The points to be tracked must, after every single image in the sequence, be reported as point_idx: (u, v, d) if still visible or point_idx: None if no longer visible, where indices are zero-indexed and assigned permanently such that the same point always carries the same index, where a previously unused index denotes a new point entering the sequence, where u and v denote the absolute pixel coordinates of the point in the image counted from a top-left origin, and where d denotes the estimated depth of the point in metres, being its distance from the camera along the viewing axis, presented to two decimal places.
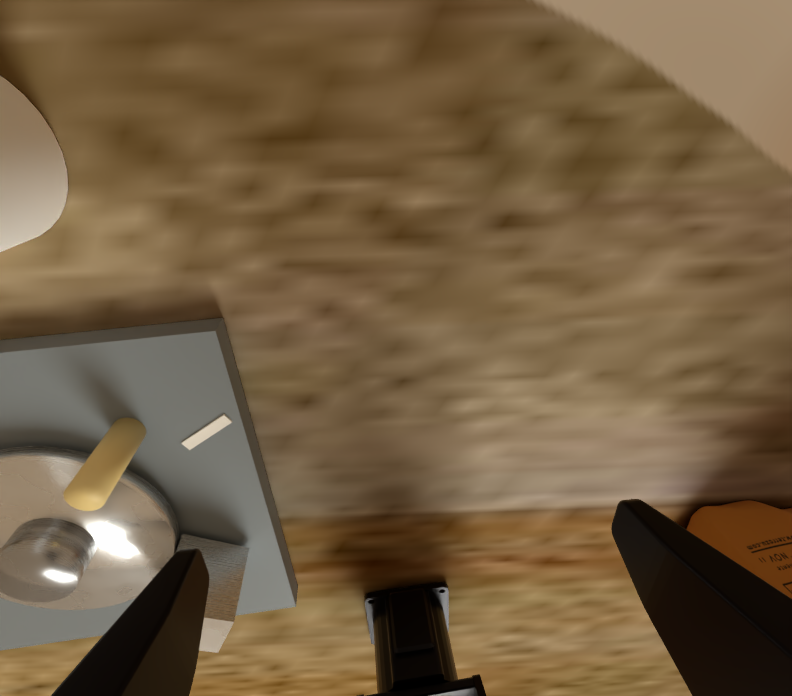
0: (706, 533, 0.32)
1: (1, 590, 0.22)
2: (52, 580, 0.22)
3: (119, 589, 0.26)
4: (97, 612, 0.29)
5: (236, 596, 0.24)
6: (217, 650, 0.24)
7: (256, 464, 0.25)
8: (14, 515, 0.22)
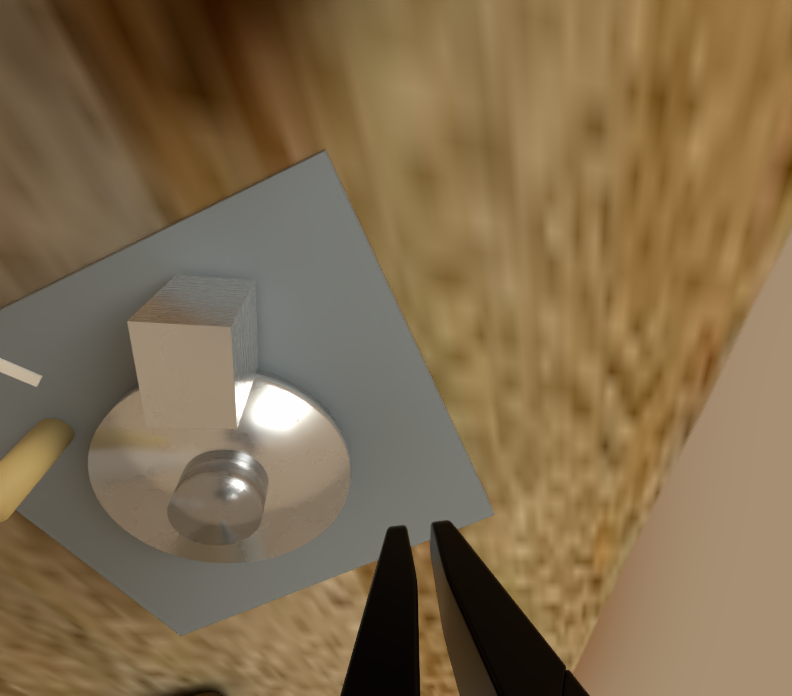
0: None
1: (249, 533, 0.20)
2: (212, 500, 0.19)
3: (291, 420, 0.20)
4: (395, 421, 0.22)
5: None
6: (223, 328, 0.14)
7: (26, 296, 0.17)
8: None
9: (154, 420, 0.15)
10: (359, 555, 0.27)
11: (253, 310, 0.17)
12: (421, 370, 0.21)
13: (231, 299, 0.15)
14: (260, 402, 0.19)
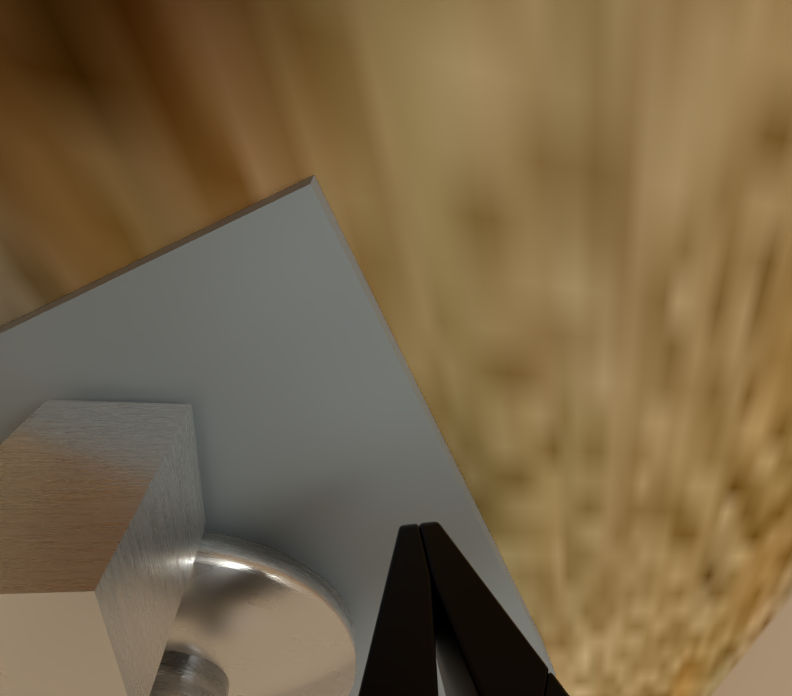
0: None
1: None
2: None
3: (260, 608, 0.12)
4: None
5: None
6: (79, 595, 0.06)
7: None
8: None
9: None
10: None
11: (187, 459, 0.10)
12: (467, 514, 0.13)
13: (128, 474, 0.08)
14: (208, 589, 0.12)
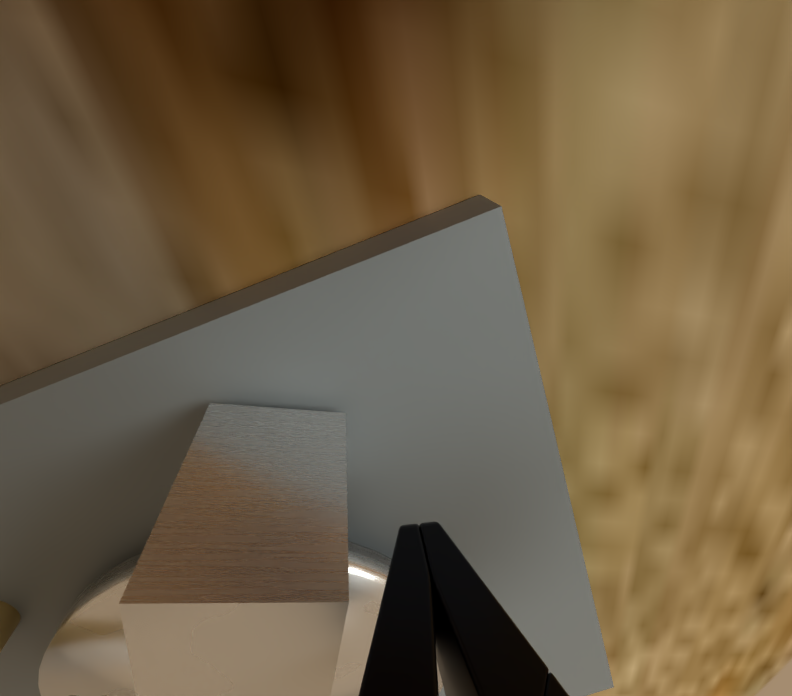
0: None
1: None
2: None
3: (374, 615, 0.12)
4: (513, 590, 0.15)
5: None
6: (333, 605, 0.06)
7: None
8: None
9: None
10: None
11: None
12: (569, 528, 0.14)
13: (322, 483, 0.08)
14: None
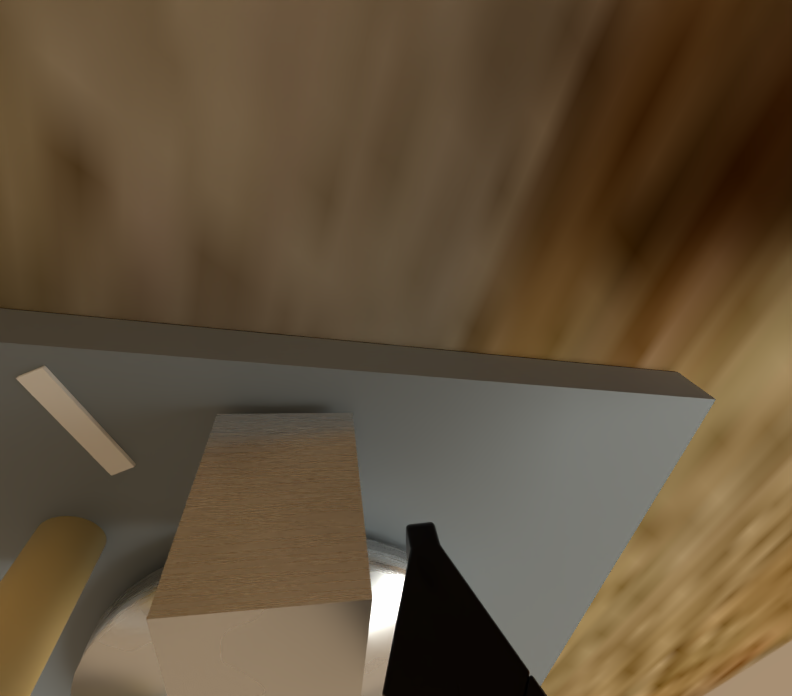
0: None
1: None
2: None
3: (397, 610, 0.12)
4: None
5: None
6: (357, 603, 0.06)
7: (221, 353, 0.10)
8: None
9: None
10: None
11: None
12: (575, 620, 0.17)
13: (336, 485, 0.08)
14: None
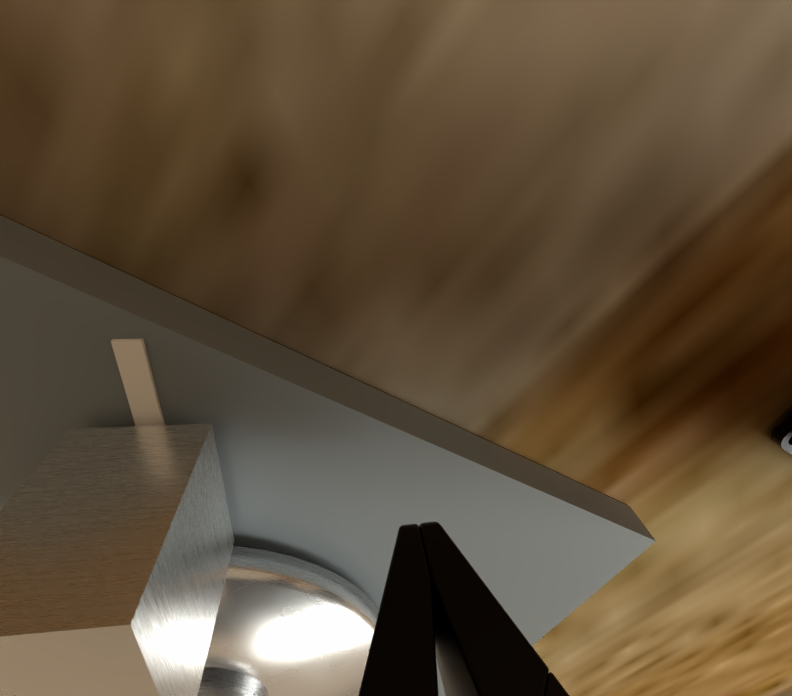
0: None
1: None
2: None
3: (294, 621, 0.12)
4: None
5: None
6: (115, 629, 0.06)
7: (298, 379, 0.10)
8: None
9: None
10: None
11: (211, 479, 0.10)
12: None
13: (155, 501, 0.08)
14: (241, 605, 0.12)
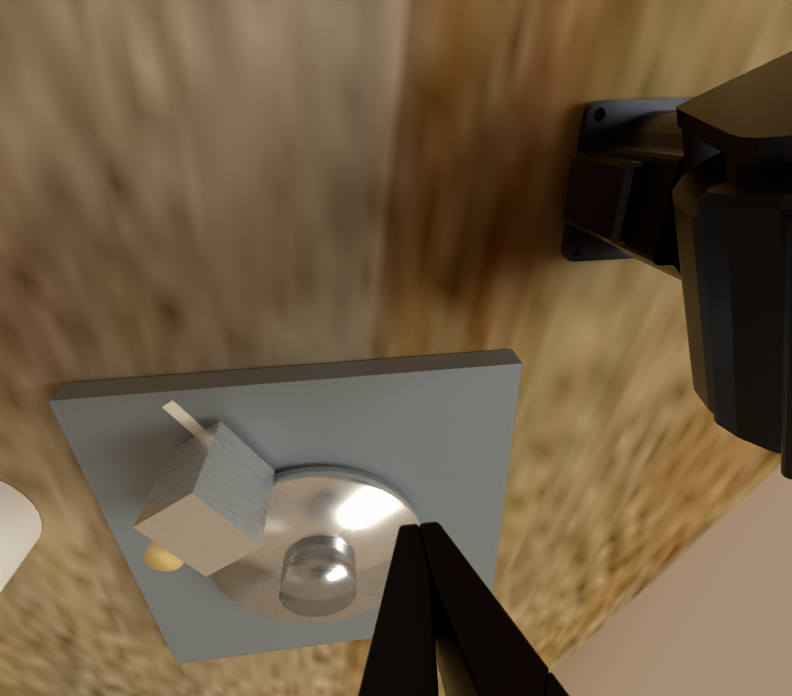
0: None
1: (354, 593, 0.23)
2: (306, 586, 0.22)
3: (324, 497, 0.22)
4: (459, 541, 0.27)
5: None
6: (189, 496, 0.17)
7: (245, 382, 0.20)
8: None
9: (207, 571, 0.19)
10: (370, 630, 0.31)
11: (232, 443, 0.20)
12: (499, 512, 0.26)
13: (199, 457, 0.19)
14: (292, 498, 0.22)
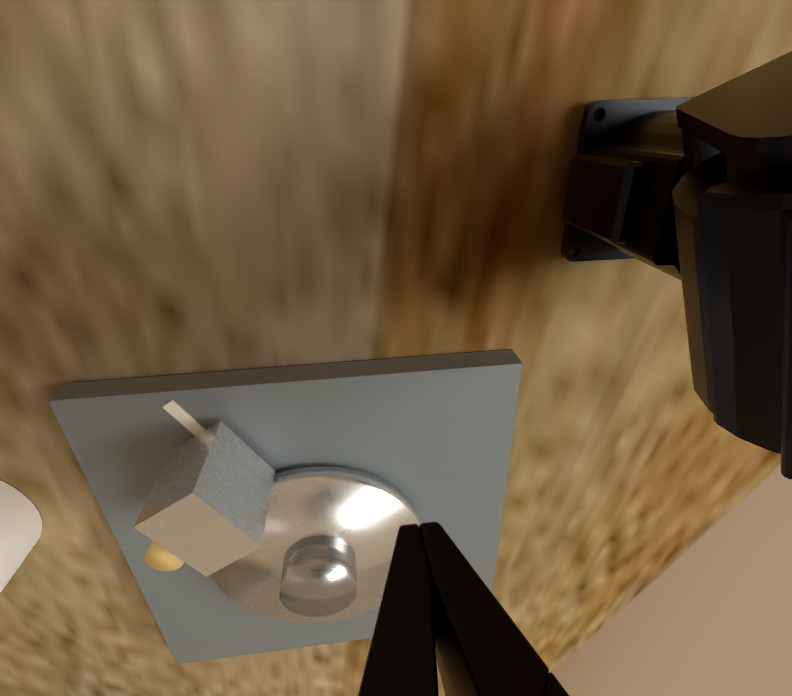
0: None
1: (354, 593, 0.23)
2: (307, 586, 0.22)
3: (324, 496, 0.22)
4: (459, 541, 0.27)
5: None
6: (189, 496, 0.17)
7: (246, 382, 0.20)
8: None
9: (207, 570, 0.19)
10: (370, 630, 0.31)
11: (233, 443, 0.20)
12: (499, 512, 0.26)
13: (200, 457, 0.19)
14: (292, 498, 0.22)
